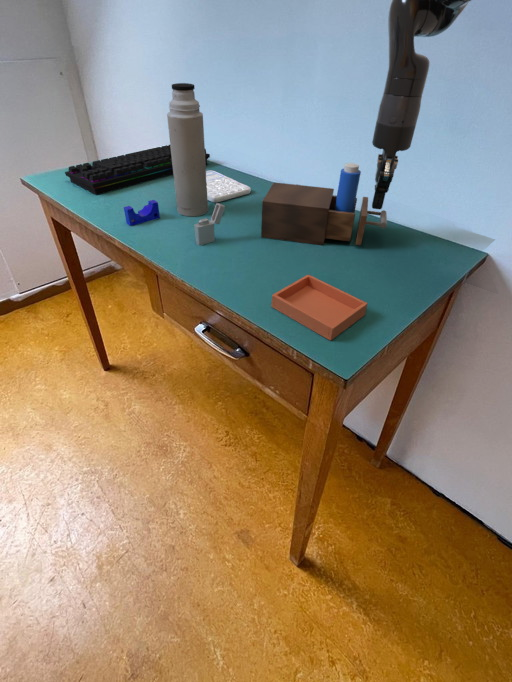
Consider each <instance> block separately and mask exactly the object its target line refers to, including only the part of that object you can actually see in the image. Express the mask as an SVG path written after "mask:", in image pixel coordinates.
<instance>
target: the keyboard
mask: <svg viewBox="0 0 512 682" xmlns="http://www.w3.org/2000/svg"><path fill="white" fill-rule="evenodd" d="M210 157H211V154H210V153H207V148H205V163H206V166H208V159H210ZM64 174H65V176H66V177H68V178H69V180H70V183H72V184H74V185H76V186H78V187H80V188H82V189H84V190H86V191H88V192H89V193H91V194H93V195H95V196H98V195H103V194H107V193H110V192H114V191H117V190H121V189H125V188H128V187H131V186H132V187H133V186H135V185H139V184H143V183H146V182H150V181H153V180H158V179H160V178H164V177H169V176H172V175H173V165H172V156H171V147H170V144H166V145H161V146H157V147H151V148H148V149H143V150H139V151H135V152H130V153H126V154H121V155H117V156H111V157H109V158H103V159H99V160H94V161H92V165H91V164H90V163H89V162H84V163H83V164H81V163H80V164H76V165H71V166H68V170H67V171H64Z"/></svg>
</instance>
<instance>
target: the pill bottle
mask: <svg viewBox="0 0 512 682" xmlns="http://www.w3.org/2000/svg"><path fill="white" fill-rule="evenodd" d="M359 169H360V165H359V164H358V163H354V162H347V163H345V164H344V166H343V168H341V170H340V175H339V179H338V180H339V181H338V187H337V195H336V196H337V199H336V205H335V211H341V212H350V213H353V211H354V206H355V200H356V198H357V194H358V189H359V185H360V184H359V183H360V179H361V175H362V174H361V173H362V171H361V170H359Z"/></svg>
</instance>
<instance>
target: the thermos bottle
mask: <svg viewBox="0 0 512 682" xmlns="http://www.w3.org/2000/svg"><path fill="white" fill-rule="evenodd" d="M171 89H172V90H171V91H172V92H171V96H172V98H171V100H170V101H169V103H168V105H169V106H168V109H169V112H167V114H166V116H167V117H166V118H167V126H168V127H167V128H168V135H169V136H168V137H169V145H170V147H171V156H172V165H173V174H172V175H173V183H174V192H175V201H176V211H177V213H178V214H179V215H181V216H183V217H200V216H204V215H205V214H207V213H208V212H209V200H208V199H207V183H206V171H207V165H206V163H205V149H206V147H205V146H206V145H205V128H204V114H203V112H201V111H200V107H201V105H200V101H198V100H197V99H196V97H195V96H196V95H195V91H194V90H195V84H193V83H186V82H179V83H178V82H177V83H172V84H171Z"/></svg>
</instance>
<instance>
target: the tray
mask: <svg viewBox="0 0 512 682" xmlns="http://www.w3.org/2000/svg"><path fill="white" fill-rule="evenodd" d="M368 304H369V303H368V302H366V301H364V300H362V299H360V298H358V297H355V296H353V295H352V294H349V293H348V292H346V291H343V290H341V289H339V288H337V287H336V286H333V285H331V284H329V283H327V282H325V281H323V280H321V279H319V278H317V277H315V276H312V275H310V274H306V275H304V276H303V277H301V278H300V279H297V280H296V281H294V282H292V283H291V284H289V285H287V286H285V287H284V288H281V289H280V290H278V291H277V292H275V293H273V294H272V295H271V308H273V309H274V310H276V311H278V312H280V313H281V314H283V315H285V316H286V317H288V318H290V319H292V320H293V321H295V322H297V323H299V324H301V325H302V326H304V327H306V328H307V329H308V330H311V331H312V332H314V333H316V334H318V335H319V336H321V337H323V338H324V339H327V340H328V341H330V342H331V341H333V340H334V339H335V338H337V337H338V336H339V335H341V334H342V333H343V332H344V331H346V330H347V329H349V328H350V327H352V326H353V325H354V324H355V323H357V322H358V321H359V320H361V319H362V318H363V317H365V315H366V312H367V308H368Z"/></svg>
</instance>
